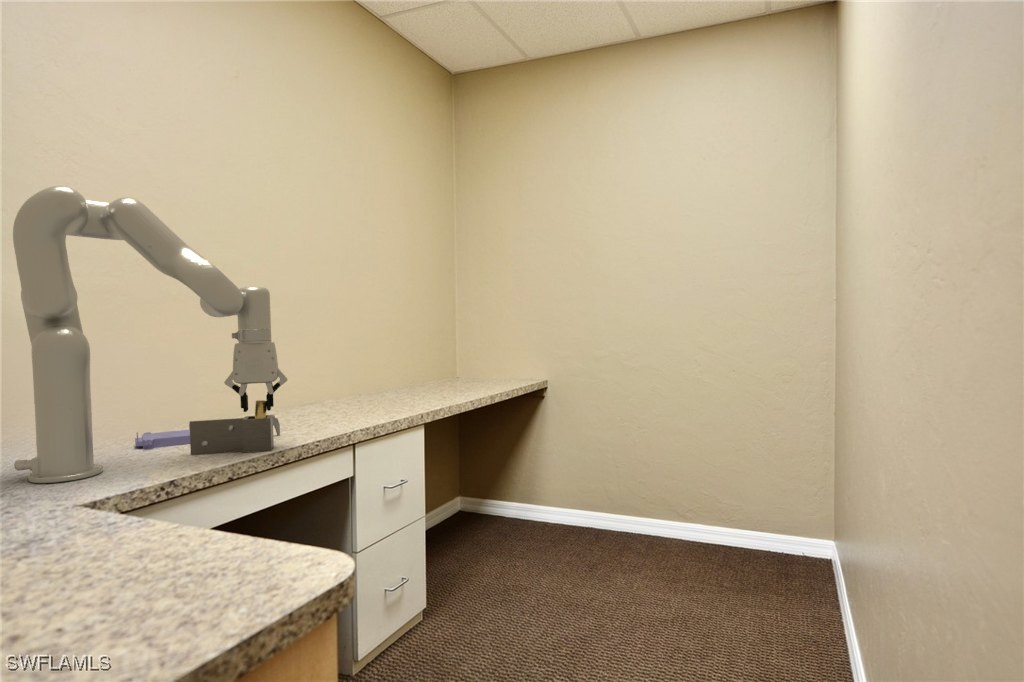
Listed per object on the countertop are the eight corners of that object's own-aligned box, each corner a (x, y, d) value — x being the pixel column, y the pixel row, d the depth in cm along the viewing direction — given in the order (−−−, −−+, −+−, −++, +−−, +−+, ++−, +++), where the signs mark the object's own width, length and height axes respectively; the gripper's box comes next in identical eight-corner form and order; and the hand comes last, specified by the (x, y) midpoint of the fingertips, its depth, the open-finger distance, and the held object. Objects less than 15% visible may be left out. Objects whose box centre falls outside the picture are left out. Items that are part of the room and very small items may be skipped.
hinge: (188, 457, 144) (186, 423, 144) (203, 442, 161) (202, 412, 161) (271, 450, 149) (270, 418, 149) (277, 437, 167) (276, 408, 167)
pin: (252, 450, 150) (255, 401, 150) (253, 447, 152) (256, 400, 152) (263, 450, 150) (266, 401, 150) (264, 448, 153) (267, 400, 153)
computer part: (135, 443, 165) (136, 453, 152) (134, 428, 165) (135, 436, 152) (253, 431, 181) (263, 438, 168) (253, 416, 181) (262, 423, 168)
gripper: (214, 338, 144) (217, 414, 145) (290, 336, 149) (292, 410, 150) (220, 337, 152) (222, 410, 152) (292, 336, 156) (294, 406, 157)
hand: (257, 409), depth 151 cm, fingers open, 4 cm apart
